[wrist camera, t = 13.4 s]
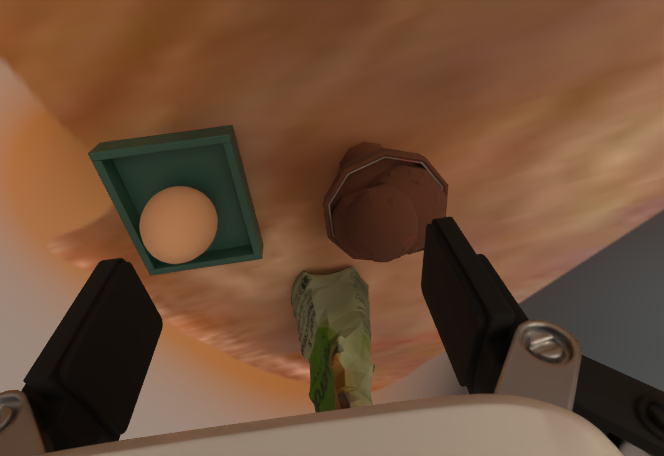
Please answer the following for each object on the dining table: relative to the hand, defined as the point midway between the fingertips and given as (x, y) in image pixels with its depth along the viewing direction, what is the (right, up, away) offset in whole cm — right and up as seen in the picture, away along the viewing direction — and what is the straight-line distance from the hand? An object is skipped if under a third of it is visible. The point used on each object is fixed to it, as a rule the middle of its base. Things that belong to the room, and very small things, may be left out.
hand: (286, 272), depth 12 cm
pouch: (+1, -7, +37) cm, 37 cm away
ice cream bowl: (+5, +8, +27) cm, 29 cm away
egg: (-14, +4, +27) cm, 30 cm away
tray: (-14, +4, +27) cm, 30 cm away
